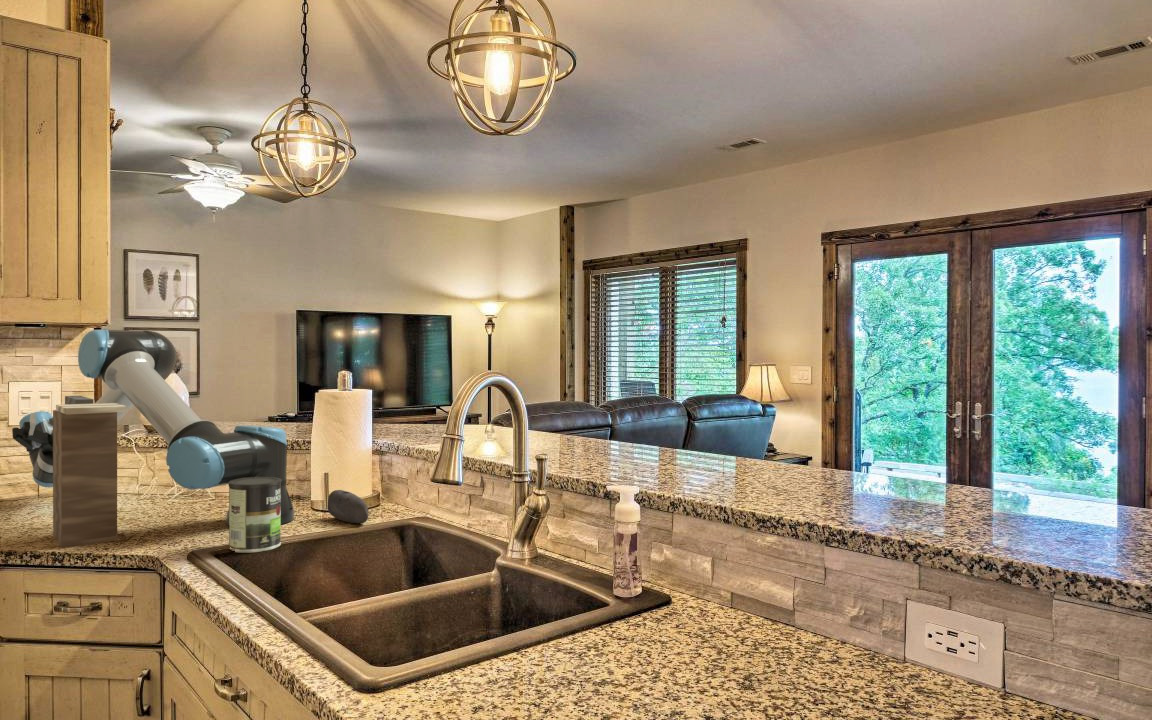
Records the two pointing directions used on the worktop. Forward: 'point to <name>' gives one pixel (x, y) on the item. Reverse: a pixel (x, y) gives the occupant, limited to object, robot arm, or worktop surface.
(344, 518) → the dark grey stone
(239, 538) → the coffee can
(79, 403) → the lid
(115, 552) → the worktop surface
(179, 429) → the robot arm
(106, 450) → the upright wooden block
